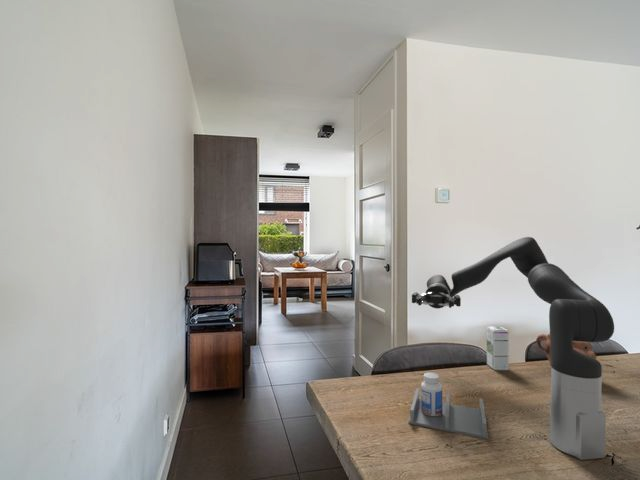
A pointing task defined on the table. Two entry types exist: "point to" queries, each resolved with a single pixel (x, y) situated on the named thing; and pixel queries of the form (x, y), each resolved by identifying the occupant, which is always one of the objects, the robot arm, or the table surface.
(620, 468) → the table surface
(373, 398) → the table surface
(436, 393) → the pill bottle
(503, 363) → the syrup box
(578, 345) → the decorative planter
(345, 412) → the table surface
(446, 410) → the dish rack
